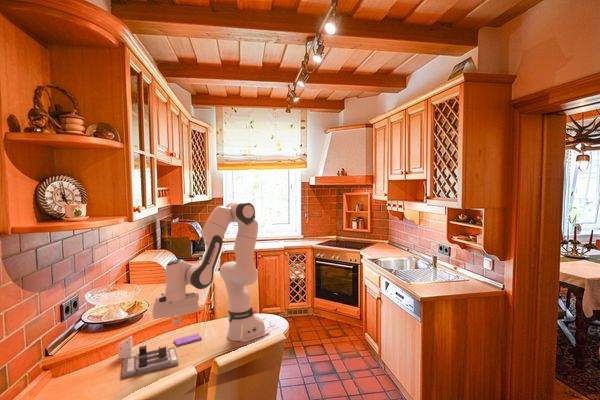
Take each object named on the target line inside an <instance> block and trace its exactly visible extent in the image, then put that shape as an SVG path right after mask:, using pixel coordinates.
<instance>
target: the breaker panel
mask: <svg viewBox="0 0 600 400" xmlns="http://www.w3.org/2000/svg"><path fill="white" fill-rule="evenodd" d="M176 351H177V350H176V347H175V346H173V347H168V346H166V356H164V357H160V358H159V348H157V349H152V350H148V351H147V345H143V346H139V347H138V353H135V355H134V356H133V357H128V358H124V359H123V361H122V362H123V364H122V373H121V374H122V375H121V378H123V379H125V378H124V377H127V378H130V377H129V376H132V377H134V376H133V375H136V376H139V374H140V375H143V374H146V373H151V372H155V371H159V370H160V371H161V370H162V369H168V368H171V367H175V366H179V358H178V355H177V352H176Z"/></svg>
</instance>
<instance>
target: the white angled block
mask: <svg viewBox="0 0 600 400" xmlns="http://www.w3.org/2000/svg"><path fill="white" fill-rule="evenodd" d="M117 346H118V347H117V348H118V349H117V352H118V359H119V358H128V357H132V356H133V355H134V354H135V355H136V353H135V352H136V350H135V347H133V335H131V336H129V337H127V338H125V339H123V340H122V341H121V342H119V343H118V344H117ZM135 355H134V356H135Z"/></svg>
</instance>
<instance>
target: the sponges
mask: <svg viewBox="0 0 600 400" xmlns="http://www.w3.org/2000/svg"><path fill="white" fill-rule="evenodd" d="M202 340H203V338H202V336H201V335H200V334H199V333H193V334H191V335H187V336H182V337H178V338H175V339H173V344H174V345H176V347H181V346H184V345H188V344H192V343H195V342H199V341H202Z"/></svg>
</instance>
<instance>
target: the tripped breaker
mask: <svg viewBox="0 0 600 400" xmlns="http://www.w3.org/2000/svg"><path fill="white" fill-rule="evenodd" d="M166 347H167V345H166V344H161V345H159V346H158V349H159V358H160V357H164V356H166Z"/></svg>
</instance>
